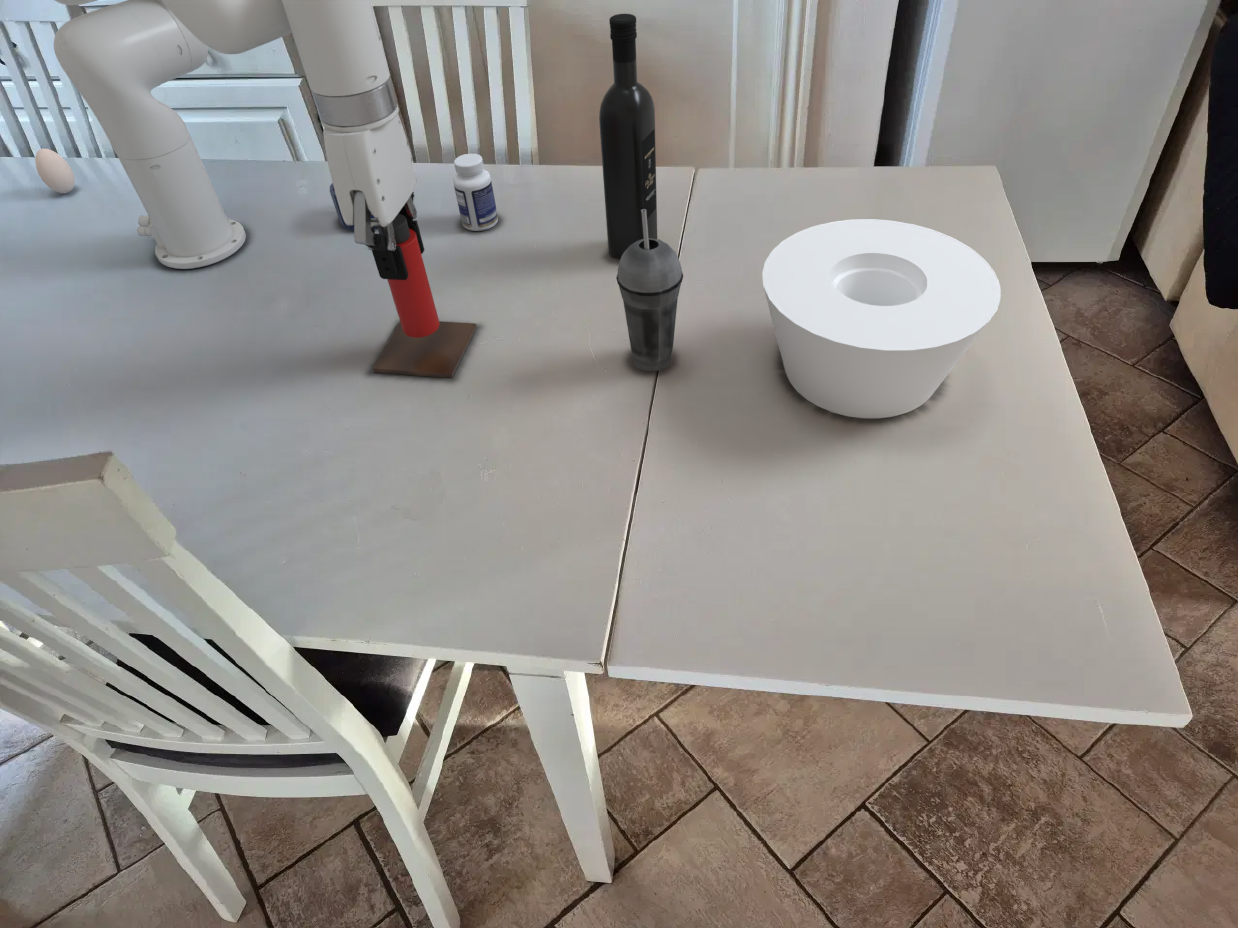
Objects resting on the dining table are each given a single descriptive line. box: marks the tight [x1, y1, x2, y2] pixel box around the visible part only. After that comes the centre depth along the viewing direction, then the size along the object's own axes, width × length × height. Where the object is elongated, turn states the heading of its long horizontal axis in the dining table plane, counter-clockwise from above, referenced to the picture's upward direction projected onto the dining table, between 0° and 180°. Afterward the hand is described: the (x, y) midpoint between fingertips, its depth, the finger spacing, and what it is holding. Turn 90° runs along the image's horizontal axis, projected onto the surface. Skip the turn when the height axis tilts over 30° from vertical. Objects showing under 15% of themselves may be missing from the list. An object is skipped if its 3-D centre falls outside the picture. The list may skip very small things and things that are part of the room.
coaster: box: [372, 320, 477, 379], centre depth 100 cm, size 10×10×1 cm
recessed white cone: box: [761, 218, 1002, 419], centre depth 89 cm, size 24×24×12 cm
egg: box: [34, 148, 76, 195], centre depth 132 cm, size 5×5×7 cm
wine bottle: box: [598, 13, 658, 261], centre depth 102 cm, size 6×6×30 cm
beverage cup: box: [615, 209, 684, 372], centre depth 89 cm, size 7×7×20 cm
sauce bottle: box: [377, 214, 440, 338], centre depth 93 cm, size 4×4×14 cm
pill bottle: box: [452, 153, 499, 232], centre depth 117 cm, size 5×5×10 cm
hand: (402, 263), depth 91 cm, fingers closed on sauce bottle, 4 cm apart
